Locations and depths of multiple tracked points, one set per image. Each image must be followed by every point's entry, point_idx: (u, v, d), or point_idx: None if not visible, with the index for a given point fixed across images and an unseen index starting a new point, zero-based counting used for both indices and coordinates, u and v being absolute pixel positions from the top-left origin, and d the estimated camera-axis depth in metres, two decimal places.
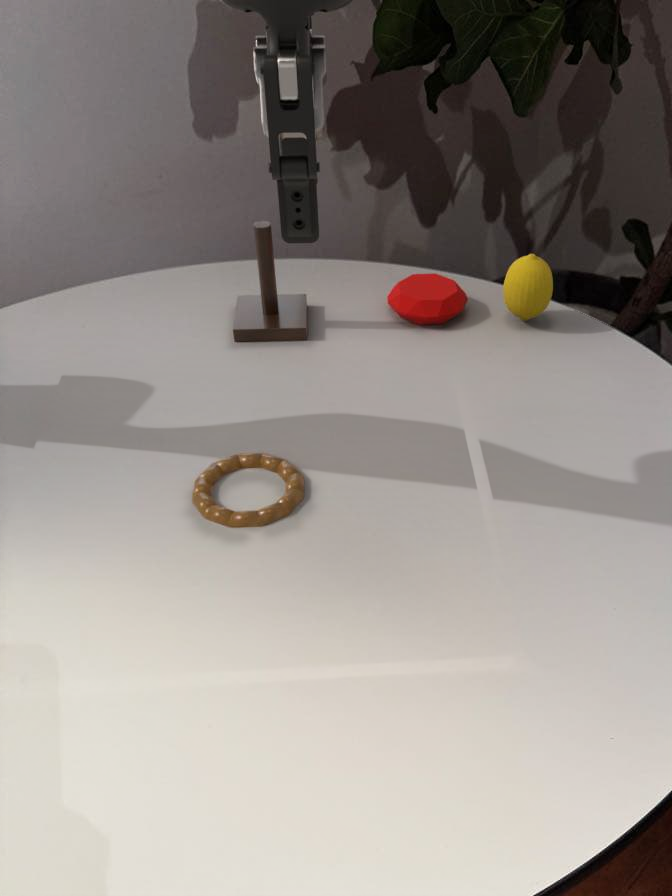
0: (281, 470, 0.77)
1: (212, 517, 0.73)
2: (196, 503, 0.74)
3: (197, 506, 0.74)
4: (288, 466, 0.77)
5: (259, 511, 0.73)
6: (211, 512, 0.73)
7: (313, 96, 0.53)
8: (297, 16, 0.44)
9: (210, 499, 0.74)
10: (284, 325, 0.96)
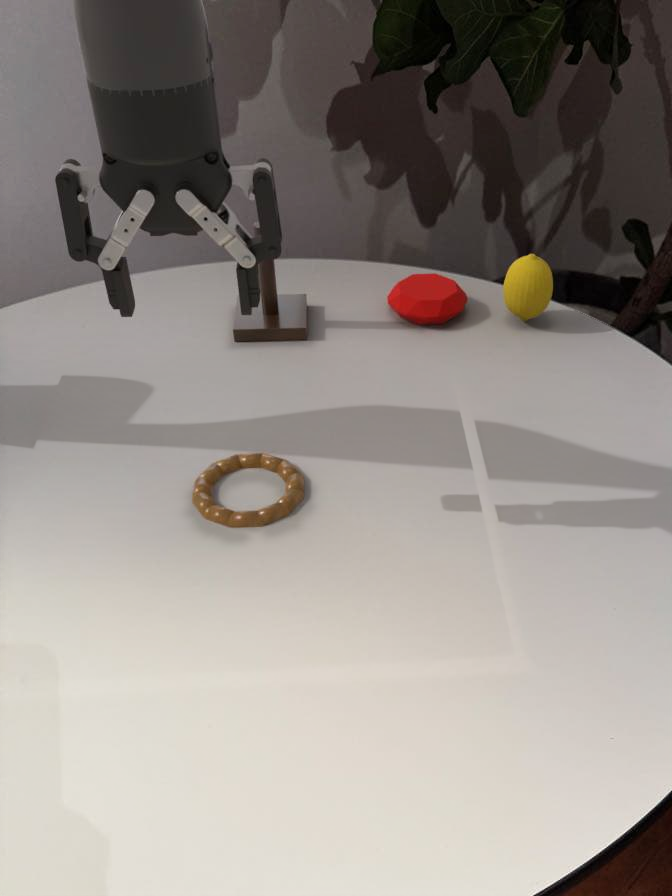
0: (281, 470, 0.77)
1: (212, 517, 0.73)
2: (196, 503, 0.74)
3: (197, 506, 0.74)
4: (288, 466, 0.77)
5: (259, 511, 0.73)
6: (211, 512, 0.73)
7: None
8: None
9: (210, 499, 0.74)
10: (284, 325, 0.96)
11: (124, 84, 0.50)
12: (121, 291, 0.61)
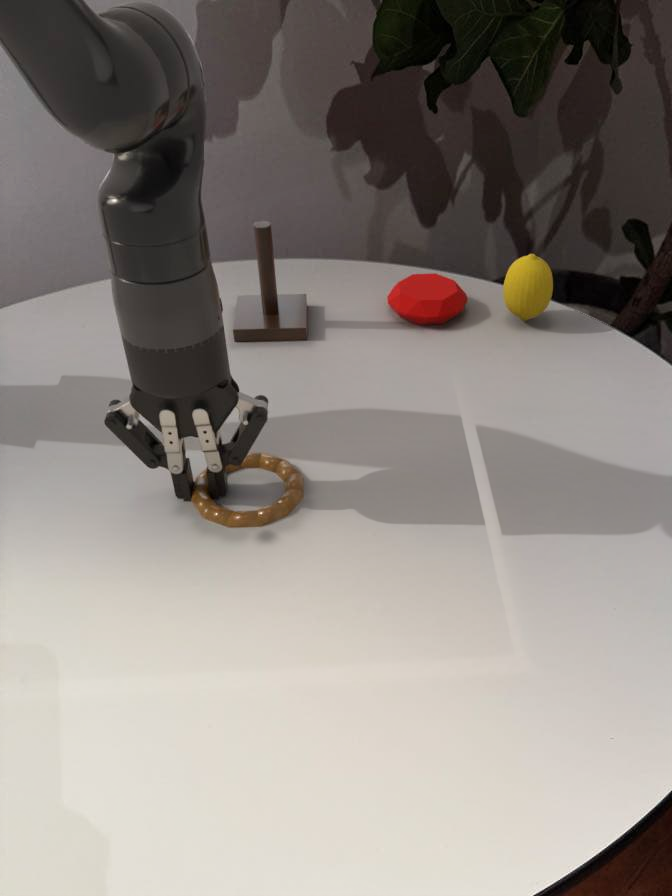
0: (280, 470, 0.77)
1: (211, 517, 0.73)
2: (195, 503, 0.74)
3: (196, 506, 0.74)
4: (287, 466, 0.77)
5: (258, 511, 0.73)
6: (210, 512, 0.73)
7: None
8: (229, 368, 0.68)
9: (209, 499, 0.74)
10: (284, 325, 0.96)
11: (152, 345, 0.62)
12: (186, 488, 0.74)
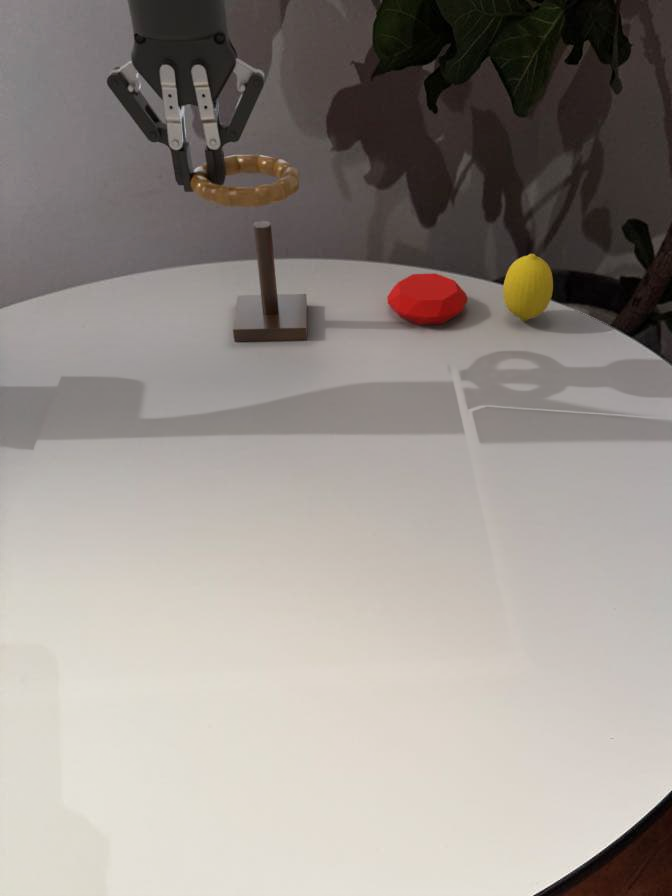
0: (277, 166, 0.80)
1: (209, 192, 0.75)
2: (194, 184, 0.77)
3: (195, 186, 0.77)
4: (284, 162, 0.80)
5: (255, 187, 0.75)
6: (208, 187, 0.75)
7: None
8: (227, 28, 0.71)
9: (208, 180, 0.77)
10: (284, 325, 0.96)
11: None
12: (185, 168, 0.77)
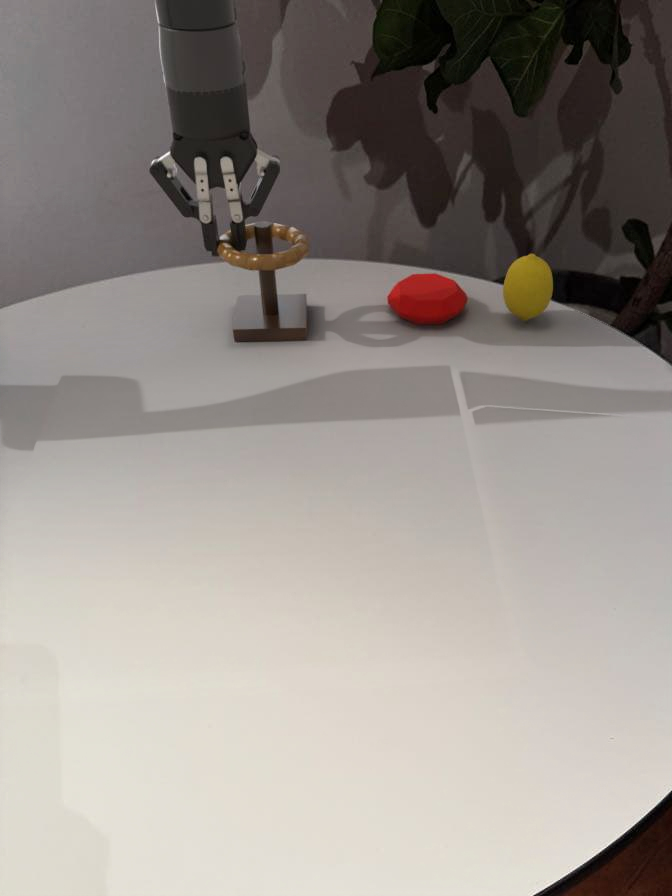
0: (289, 233, 0.95)
1: (234, 258, 0.90)
2: (220, 250, 0.91)
3: (222, 253, 0.91)
4: (295, 230, 0.95)
5: (272, 254, 0.90)
6: (233, 254, 0.90)
7: None
8: None
9: (232, 247, 0.91)
10: (284, 325, 0.96)
11: (191, 88, 0.79)
12: (213, 238, 0.91)
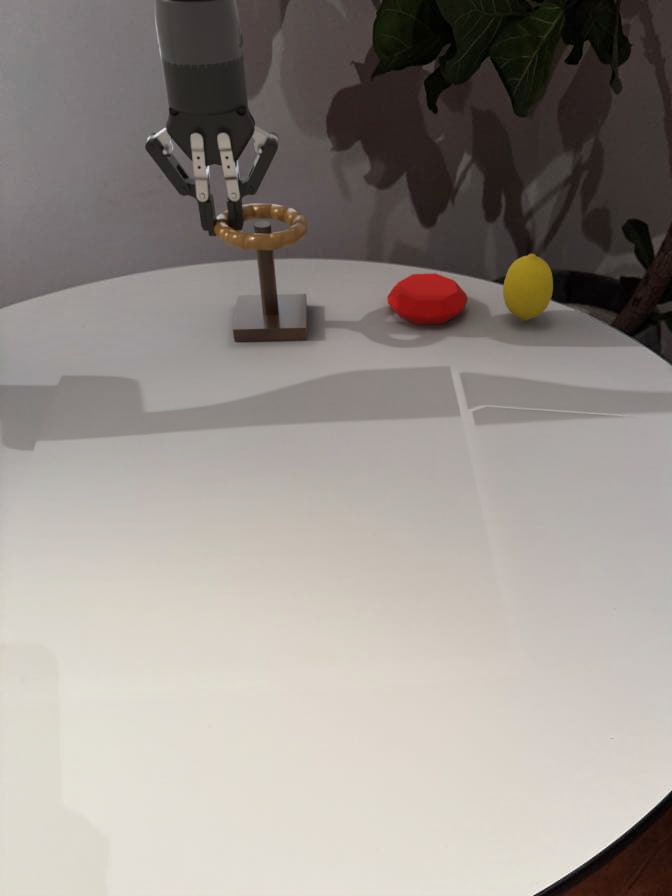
0: (288, 214, 0.93)
1: (231, 237, 0.88)
2: (217, 230, 0.90)
3: (218, 232, 0.90)
4: (294, 211, 0.93)
5: (270, 233, 0.88)
6: (230, 233, 0.88)
7: None
8: None
9: (229, 226, 0.90)
10: (284, 325, 0.96)
11: (187, 60, 0.77)
12: (210, 217, 0.90)
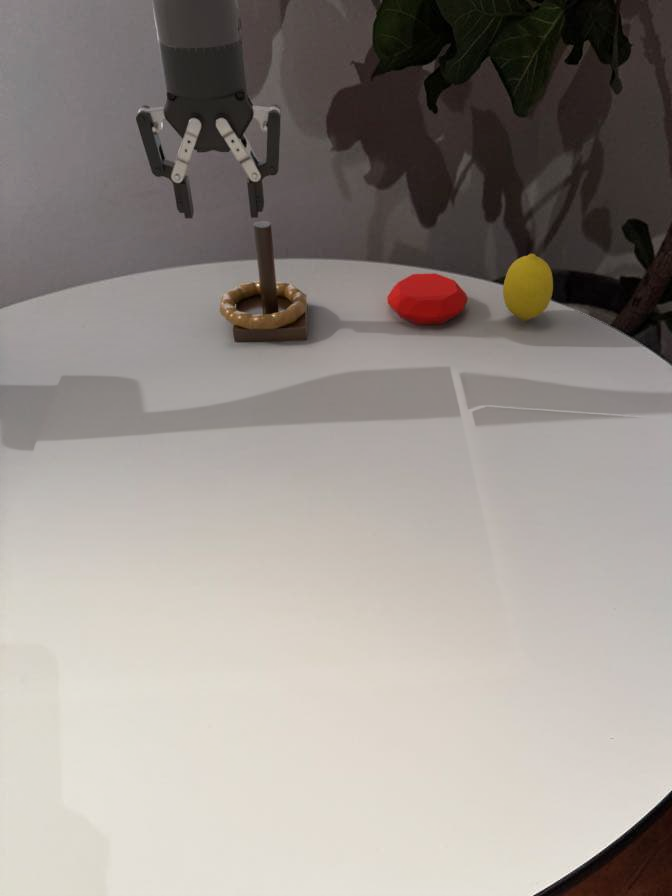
0: (288, 291, 0.99)
1: (236, 319, 0.95)
2: (223, 311, 0.96)
3: (224, 313, 0.96)
4: (293, 288, 0.99)
5: (272, 314, 0.95)
6: (235, 315, 0.95)
7: None
8: None
9: (234, 307, 0.96)
10: None
11: (185, 44, 0.77)
12: (186, 198, 0.88)
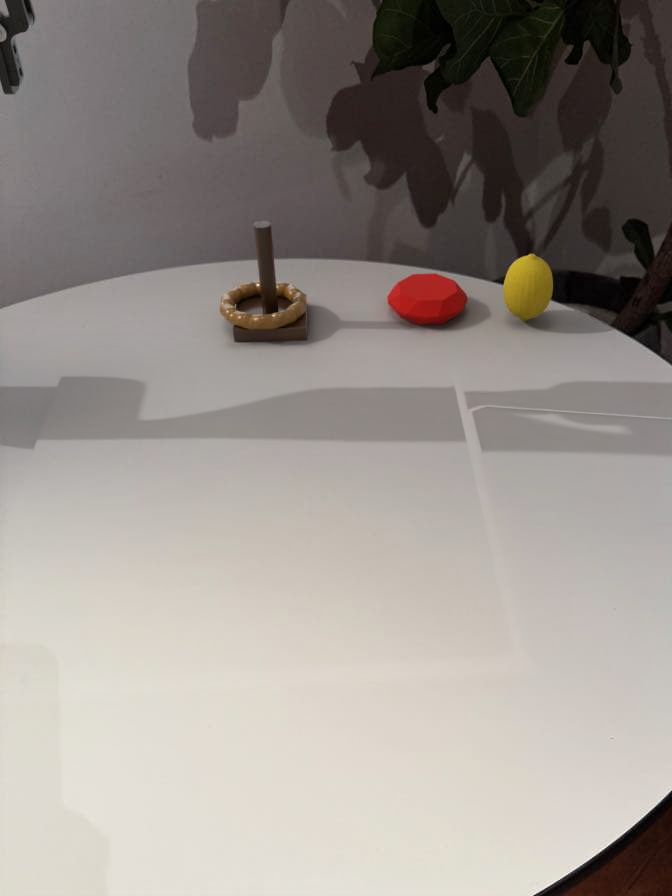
0: (288, 291, 0.99)
1: (236, 319, 0.95)
2: (223, 311, 0.96)
3: (224, 313, 0.96)
4: (293, 288, 0.99)
5: (272, 314, 0.95)
6: (235, 315, 0.95)
7: None
8: None
9: (234, 307, 0.96)
10: None
11: None
12: None
